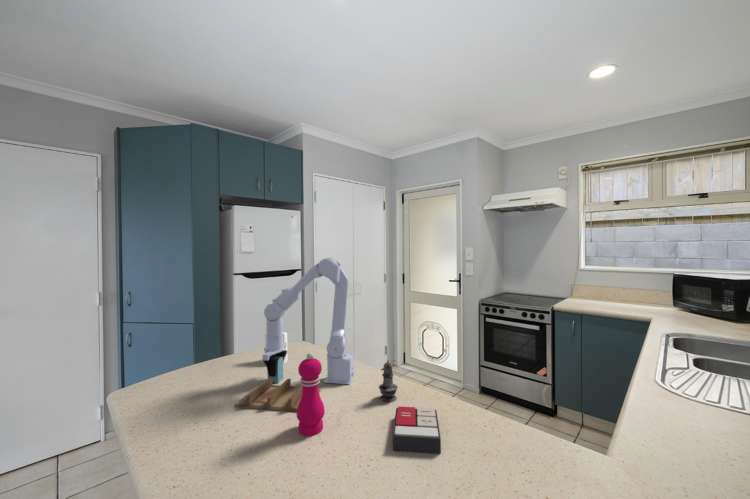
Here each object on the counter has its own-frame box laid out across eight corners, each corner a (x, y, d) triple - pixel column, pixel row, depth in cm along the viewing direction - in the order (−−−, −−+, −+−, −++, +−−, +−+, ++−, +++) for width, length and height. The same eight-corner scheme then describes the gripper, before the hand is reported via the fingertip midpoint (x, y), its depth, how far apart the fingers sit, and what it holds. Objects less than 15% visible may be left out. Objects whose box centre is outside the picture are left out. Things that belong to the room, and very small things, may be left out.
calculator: (436, 406, 88) (440, 435, 73) (436, 422, 88) (441, 455, 73) (396, 404, 89) (392, 432, 74) (396, 420, 89) (392, 451, 74)
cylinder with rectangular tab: (261, 364, 132) (261, 335, 132) (271, 357, 141) (271, 330, 141) (281, 365, 130) (281, 336, 130) (291, 358, 139) (290, 330, 139)
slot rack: (320, 391, 106) (320, 380, 106) (304, 412, 92) (304, 400, 92) (259, 387, 110) (259, 377, 110) (234, 407, 96) (234, 395, 96)
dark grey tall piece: (397, 394, 103) (397, 357, 103) (397, 403, 97) (396, 363, 97) (379, 393, 104) (379, 356, 104) (378, 402, 98) (377, 363, 98)
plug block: (283, 378, 117) (282, 356, 117) (278, 383, 113) (277, 360, 113) (273, 378, 118) (272, 356, 118) (267, 382, 114) (267, 360, 114)
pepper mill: (329, 424, 86) (328, 350, 86) (316, 439, 79) (315, 358, 79) (306, 419, 88) (305, 347, 88) (291, 434, 81) (290, 355, 81)
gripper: (274, 330, 123) (274, 365, 123) (253, 341, 109) (254, 381, 109) (291, 331, 122) (291, 366, 122) (273, 342, 108) (273, 382, 108)
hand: (275, 373), depth 115 cm, fingers closed on plug block, 4 cm apart
